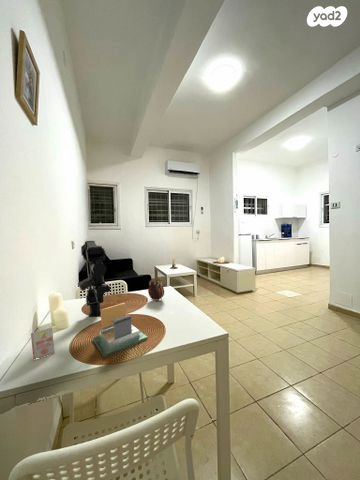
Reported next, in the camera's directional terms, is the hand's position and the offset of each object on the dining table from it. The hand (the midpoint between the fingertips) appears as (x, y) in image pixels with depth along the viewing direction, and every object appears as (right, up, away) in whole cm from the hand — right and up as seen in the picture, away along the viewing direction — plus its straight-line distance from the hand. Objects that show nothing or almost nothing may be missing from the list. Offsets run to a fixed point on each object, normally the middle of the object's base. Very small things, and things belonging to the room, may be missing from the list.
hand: (99, 303), depth 97 cm
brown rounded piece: (+24, -9, +33) cm, 42 cm away
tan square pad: (+10, -7, -8) cm, 15 cm away
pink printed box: (-14, -14, -20) cm, 28 cm away
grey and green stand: (+14, -12, -12) cm, 22 cm away
